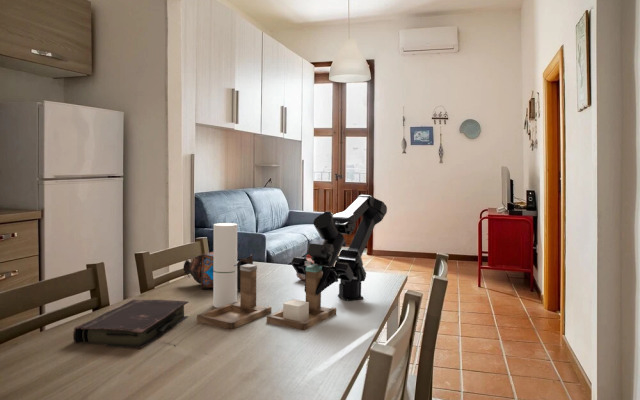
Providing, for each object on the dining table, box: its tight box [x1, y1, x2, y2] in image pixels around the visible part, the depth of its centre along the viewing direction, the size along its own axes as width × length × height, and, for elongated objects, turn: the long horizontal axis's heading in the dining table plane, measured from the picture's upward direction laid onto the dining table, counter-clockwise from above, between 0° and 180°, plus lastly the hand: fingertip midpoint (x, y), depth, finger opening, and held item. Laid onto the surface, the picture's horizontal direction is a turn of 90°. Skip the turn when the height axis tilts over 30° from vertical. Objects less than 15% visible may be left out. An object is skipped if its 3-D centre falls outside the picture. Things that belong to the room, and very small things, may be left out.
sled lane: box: [266, 265, 337, 331], centre depth 133 cm, size 17×12×14 cm
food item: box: [296, 253, 323, 282], centre depth 185 cm, size 14×8×10 cm, turn 153°
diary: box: [72, 299, 190, 350], centre depth 125 cm, size 19×25×5 cm
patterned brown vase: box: [183, 251, 254, 293], centre depth 170 cm, size 16×16×25 cm
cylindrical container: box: [212, 222, 238, 309], centre depth 147 cm, size 7×7×25 cm
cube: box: [282, 298, 309, 322], centre depth 130 cm, size 5×5×5 cm
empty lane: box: [196, 264, 272, 330], centre depth 133 cm, size 17×12×14 cm
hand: (310, 293), depth 137 cm, fingers closed on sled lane, 3 cm apart
